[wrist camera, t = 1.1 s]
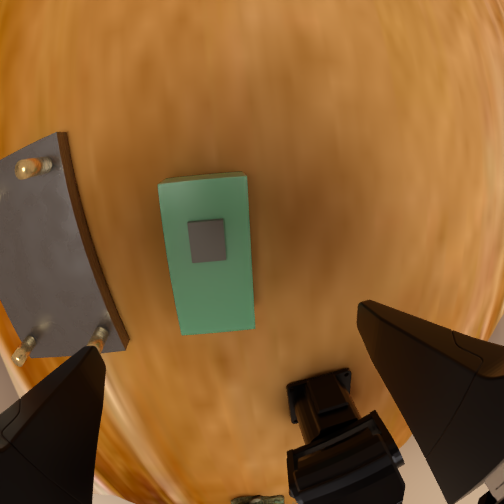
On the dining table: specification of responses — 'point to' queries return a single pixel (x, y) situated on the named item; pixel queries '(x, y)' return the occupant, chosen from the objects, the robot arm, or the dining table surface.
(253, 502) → the frog figurine
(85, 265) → the chassis
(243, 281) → the board
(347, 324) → the dining table surface
